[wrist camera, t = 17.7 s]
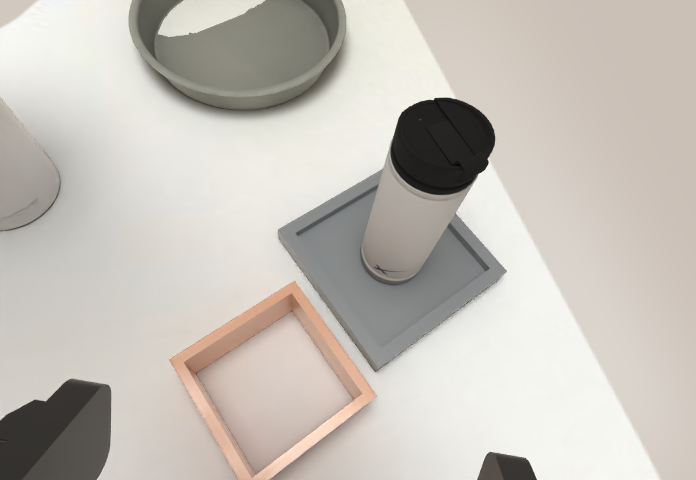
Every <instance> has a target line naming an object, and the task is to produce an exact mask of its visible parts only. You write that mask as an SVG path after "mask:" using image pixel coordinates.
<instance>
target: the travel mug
mask: <svg viewBox="0 0 696 480" xmlns="http://www.w3.org/2000/svg"><path fill="white" fill-rule="evenodd" d="M494 145H495V134H494V130H493V127H492V125H491V123H490V122H489V120H488V119H487V118H486V117H485V115H484V114H482V113H481V112H480V111H479V110H477V109H476V108H475V107H473V106H471V105H469V104H467V103H465V102H463V101H460V100H457V99H452V98H435V99H434V100H426V101H421V102H418V103H416V104H414V105H412V106H410V107H408V108H407V109H406V110H404V111H403V112H402V113H401V115H400V117H399V119H398V123H397V126H396V130H395V133H394V136H393V139H392V141H391V144H390V148H389V151H388V154H387V158H386V161H385V165H384V168H383V172H382V175H381V179H380V182H379V186H378V189H377V193H376V196H375V200H374V203H373V207H372V210H371V214H370V217H369V220H368V224H367V227H366V231H365V234H364V238H363V241H362V245H361V249H360V257H361V262H362V264H363V267H364V268H365V270H366V271H367V272H368V273H369V274H370V275H371V276H372V277H373V278H375V279H376V280H378V281H380V282H382V283H386V284H392V285H397V284H403V283H406V282H408V281H410V280H412V279H413V278H414V277H415V276H416V275H417V274H418V272H419V271H420V270H421V268H422V266H423V265H424V263H425V261H426V260H427V258H428V257H429V255H430V253H431V252H432V250H433V248H434V247H435V245H436V244H437V242H438V240H439V239H440V237H441V235H442V234H443V232H444V231H445V229H446V227H447V226H448V224H449V222H450V221H451V219H452V218H453V216H454V214H455V213H456V211H457V209H458V208H459V206H460V205H461V203H462V201H463V200H464V198H465V196H466V195H467V193H468V192H469V190H470V188H471V187H472V185H473V183H474V182H475V180H476V179H477V176H478V174H479V173H481V172H483V171H484V170H485V169H486V167H487V165H488V163H489V162H488V160H487V159H488V157H489V156H490V154H491V152H492V150H493V148H494Z"/></svg>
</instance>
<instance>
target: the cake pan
mask: <svg viewBox="0 0 696 480" xmlns="http://www.w3.org/2000/svg"><path fill="white" fill-rule="evenodd" d="M182 1H183V0H132V3H131V6H130V11H129V29H130V34H131V36H132V39H133V42H134V44H135V46H136V48H137V49H138V51H139V52H140V54H141V56H142V57H143V58H144V59H145V60H146V62H147V63H148V64H149V65H151V66H152V67H153V68H154V69H155V70H156V71H158V72H159V73H161V74H162V75H163V76H165V77H166V79H167V80H168V81H169V82H170V83H171V84H172V85H173V86H174V87H175V88H177V89H178V90H179V91H181V92H182V93H184V94H185V95H187V96H189V97H190V98H193V99H195V100H197V101H199V102H202V103H204V104H207V105H211V106H214V107H219V108H224V109H233V110H254V109H262V108H267V107H272V106H275V105H279V104H282V103H285V102H287V101H289V100H291V99H293V98H295V97H297V96H299V95H301V94H302V93H303V92H305V91H306V90H308V89H309V88H310V87H311V86H312V85H313V84H314V83H315V82H316V81H317V80H318V79H319V77H320V76H321V74H322V73H323V71H324V69H325V67H326V66H327V65H328V64H329V63H330V62H331V60H332V59H333V58H334V57H335V55H336V54H337V52H338V51H339V49H340V47H341V45H342V42H343V39H344V36H345V32H346V14H345V9H344V6H343V3H342V1H341V0H266V1H264V2H263V3H262V4H260V5H257V6H256V7H255V8H252V9H249V10H248V11H247V12H246V13H245V14H243V15H240V16H238V17H235V18H233V19H230V20H228V21H225V22H223V23H220V24H218V25H215V26H213V27H210V28H208V29H205V30H203V31H200V32H198V33H194V34H193V33H189V35H184V36H175V37H166V36H163V35H158V31H159V28H160V26H161V24H162V21H163V20H164V18H165V17H166V16H167V14H168V13H169V12H170V11H171V10H172V9H173V8H174V7H175V6H177V5H178V4H179V3H181V2H182Z"/></svg>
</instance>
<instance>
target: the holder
mask: <svg viewBox="0 0 696 480" xmlns="http://www.w3.org/2000/svg"><path fill="white" fill-rule="evenodd" d="M291 311H293V313H294V314H295V316H296V317H297V318H298V320H299V321H300V323H301V324H302V326H303V327H304V328H305V330H306V331H307V333H308V334H309V336H310V337H311V339H312V340H313V341H314V343H315V344H316V346H317V347H318V349H319V350H320V351H321V353H322V354H323V356H324V357H325V359H326V360H327V362H328V363H329V364H330V366H331V367H332V369H333V370H334V372H335V373H336V375H337V376H338V377H339V379H340V380H341V382H342V383H343V385H344V386H345V387H346V389H347V390H348V392H349V393H350V395H351V396H352V398H353V399H354V400H353V401H352V402H351V403H349V404H348V405H347V406H346V407H344V408H343V409H342V410H340V411H339V412H338V413H336V414H335V415H334V416H332V417H331V418H330V419H328V420H327V421H326V422H325V423H323V424H322V425H321V426H319V427H318V428H317V429H315V430H314V431H313V432H311V433H310V434H309V435H307V436H306V437H305V438H303V439H302V440H301V441H300V442H298V443H297V444H296V445H294V446H293V447H292V448H290V449H289V450H288V451H286V452H285V453H284V454H282V455H281V456H280V457H279V458H277V459H276V460H275V461H273V462H272V463H271V464H269V465H268V466H267V467H265V468H264V469H263V470H261V471H260V472H259V473H258V474H256V475H255V473H254V472H253V470H252V468H251V466H250V465H249V463H248V461H247V460H246V458H245V456H244V455H243V453H242V451H241V450H240V448H239V446H238V445H237V443H236V441H235V439H234V438H233V436H232V434H231V433H230V431H229V429H228V428H227V426H226V424H225V423H224V421H223V419H222V417H221V416H220V414H219V412H218V411H217V409H216V407H215V406H214V404H213V402H212V401H211V399H210V397H209V396H208V394H207V392H206V390H205V389H204V387H203V385H202V384H201V382H200V380H199V379H198V377H197V375H196V373H197V372H199V371H200V370H202V369H203V368H205V367H207V366H208V365H210V364H211V363H213V362H214V361H216V360H217V359H219V358H220V357H222V356H223V355H225V354H226V353H228V352H230V351H231V350H233V349H234V348H236V347H237V346H239V345H240V344H242V343H243V342H245V341H246V340H248V339H250V338H251V337H253V336H254V335H256V334H257V333H259V332H260V331H262V330H263V329H265V328H266V327H268V326H270V325H271V324H273V323H274V322H276V321H277V320H279V319H280V318H282V317H283V316H285V315H286V314H288V313H289V312H291ZM169 360H170V362H171V364H172V366H173V367H174V369H175V371H176V373H177V374H178V376H179V378H180V379H181V381H182V383H183V385H184V386H185V388H186V390H187V392H188V393H189V395H190V397H191V398H192V400H193V402H194V404H195V405H196V407H197V409H198V411H199V412H200V414H201V416H202V417H203V419H204V421H205V423H206V424H207V426H208V428H209V430H210V431H211V433H212V435H213V437H214V438H215V440H216V442H217V443H218V445H219V447H220V449H221V450H222V452H223V454H224V456H225V457H226V459H227V461H228V462H229V464H230V466H231V468H232V469H233V471H234V473H235V475H236V476H237V478H238V480H270V479H272V478H273V477H274V476H275V475H277V474H278V473H279V472H281V471H282V470H283V469H284V468H286V467H287V466H288V465H290V464H291V463H292V462H293V461H295V460H296V459H297V458H299V457H300V456H301V455H303V454H304V453H305V452H306V451H308V450H309V449H310V448H312V447H313V446H314V445H315V444H317V443H318V442H319V441H321V440H322V439H323V438H325V437H326V436H327V435H328V434H330V433H331V432H332V431H334V430H335V429H336V428H337V427H339V426H340V425H341V424H343V423H344V422H345V421H346V420H348V419H349V418H350V417H352V416H353V415H354V414H356V413H357V412H358V411H359V410H361V409H362V408H363V407H365V406H366V405H367V404H368V403H370V402H371V401H372V400H373V399H374V398H375V397H376V394H375V393H374V392H373V390H372V389H371V387H370V386H369V385H368V383H367V382H366V380H365V379H364V378H363V376H362V375H361V373H360V372H359V371H358V369H357V368H356V366H355V365H354V364H353V362H352V361H351V359H350V358H349V357H348V355H347V354H346V352H345V351H344V350H343V348H342V347H341V345H340V344H339V343H338V341H337V340H336V338H335V337H334V336H333V334H332V333H331V331H330V330H329V329H328V327H327V326H326V324H325V323H324V322H323V320H322V319H321V317H320V316H319V314H318V313H317V312H316V310H315V309H314V307H313V306H312V305H311V303H310V302H309V300H308V299H307V298H306V296H305V295H304V293H303V292H302V291H301V289H300V288H299V286H298V285H297V284H296V282H295V281H293V282H292V283H290V284H289V285H287V286H286V287H284V288H282V289H281V290H279V291H278V292H276V293H274V294H273V295H271V296H270V297H268V298H266V299H265V300H263V301H262V302H260V303H258V304H257V305H255V306H254V307H252V308H250V309H249V310H247V311H246V312H244V313H243V314H241V315H239V316H238V317H236V318H235V319H233V320H231V321H230V322H228V323H227V324H225V325H223V326H222V327H220V328H219V329H217V330H215V331H214V332H212V333H211V334H209V335H207V336H206V337H204V338H203V339H201V340H200V341H198V342H196V343H195V344H193V345H192V346H190V347H188V348H187V349H185V350H184V351H182V352H180V353H179V354H177V355H176V356H174V357H172V358H171V359H169Z"/></svg>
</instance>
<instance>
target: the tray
mask: <svg viewBox="0 0 696 480" xmlns="http://www.w3.org/2000/svg"><path fill="white" fill-rule="evenodd" d="M382 172H383V169H382V170H380V171H379V172H377V173H375V174H373V175H372V176H370V177H368V178H367V179H365V180H363V181H361V182H360V183H358V184H356V185H354V186H353V187H351V188H349V189H348V190H346V191H344V192H342V193H341V194H339V195H337V196H335V197H334V198H332V199H330V200H329V201H327V202H325V203H323V204H322V205H320V206H318V207H316V208H315V209H313V210H311V211H310V212H308V213H306V214H304V215H303V216H301V217H299V218H297V219H296V220H294V221H292V222H291V223H289V224H287V225H285V226H284V227H282V228H280V229H278V236H279V240H280V241H281V243H282V244H283V245H284V247H285V248H286V249H287V251H288V252H289V254H290V255H291V256H292V258H293V259H294V261H295V262H296V263H297V265H298V266H299V267H300V269H301V270H302V272H303V273H304V274H305V276H306V277H307V278H308V280H309V281H310V283H311V284H312V285H313V287H314V288H315V289H316V291H317V292H318V294H319V295H320V296H321V298H322V299H323V301H324V302H325V303H326V305H327V306H328V307H329V309H330V310H331V312H332V313H333V314H334V316H335V317H336V318H337V320H338V321H339V323H340V324H341V325H342V327H343V328H344V329H345V331H346V332H347V334H348V335H349V336H350V338H351V339H352V341H353V342H354V343H355V345H356V346H357V347H358V349H359V350H360V352H361V353H362V354H363V356H364V357H365V358H366V360H367V361H368V363H369V364H370V365H371V367H372V368H373V369H374V371H375V372H376V371H377V370H379V369H380V368H381V367H383V366H384V365H385V364H387V363H388V362H389V361H391V360H392V359H393V358H395V357H396V356H397V355H399V354H400V353H401V352H403V351H404V350H405V349H407V348H408V347H409V346H411V345H412V344H413V343H415V342H416V341H417V340H419V339H420V338H421V337H422V336H424V335H425V334H426V333H428V332H429V331H430V330H432V329H433V328H434V327H436V326H437V325H438V324H440V323H441V322H442V321H444V320H445V319H446V318H448V317H449V316H450V315H452V314H453V313H454V312H456V311H457V310H458V309H460V308H461V307H462V306H464V305H465V304H466V303H468V302H469V301H470V300H472V299H473V298H474V297H476V296H477V295H478V294H480V293H481V292H482V291H484V290H485V289H486V288H488V287H489V286H490V285H492V284H493V283H494V282H496V281H497V280H498V279H500V278H501V277H502V276H503V275H504V274H505V273H506V272H507V271H506V270H505V269H504V267H503V266H502V265H501V264H500V263H499V262H498V261H497V260H496V258H495V257H494V256H493V255H492V254H491V253H490V252H489V251H488V249H487V248H486V247H485V246H484V245H483V244H482V243H481V242H480V240H479V239H478V238H477V237H476V236H475V235H474V234H473V233H472V231H471V230H470V229H469V228H468V227H467V226H466V225H465V224H464V222H463V221H462V220H461V219H460V218H459V217H458V216H457V215H456V213H455V214H454V216H453V218H452V219H451V221H450V222H449V224H448V226H447V227H446V229H445V231H444V232H443V234H442V235H441V237H440V239H439V240H438V242H437V244H436V245H435V247H434V248H433V250H432V252H431V253H430V255H429V257H428V258H427V260H426V261H425V263H424V265H423V266H422V268H421V270H420V271H419V272H418V274H417V275H416V276H415V277H414V278H413V279H412V280H410V281H408V282H406V283H403V284H397V285H392V284H386V283H382V282H380V281H378V280H376V279H375V278H373V277H372V276H371V275H370V274H369V273H368V272H367V271H366V270H365V268H364V267H363V264H362V262H361V257H360V249H361V245H362V241H363V238H364V234H365V231H366V227H367V224H368V220H369V217H370V214H371V210H372V207H373V203H374V200H375V196H376V193H377V189H378V186H379V182H380V179H381V175H382Z"/></svg>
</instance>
